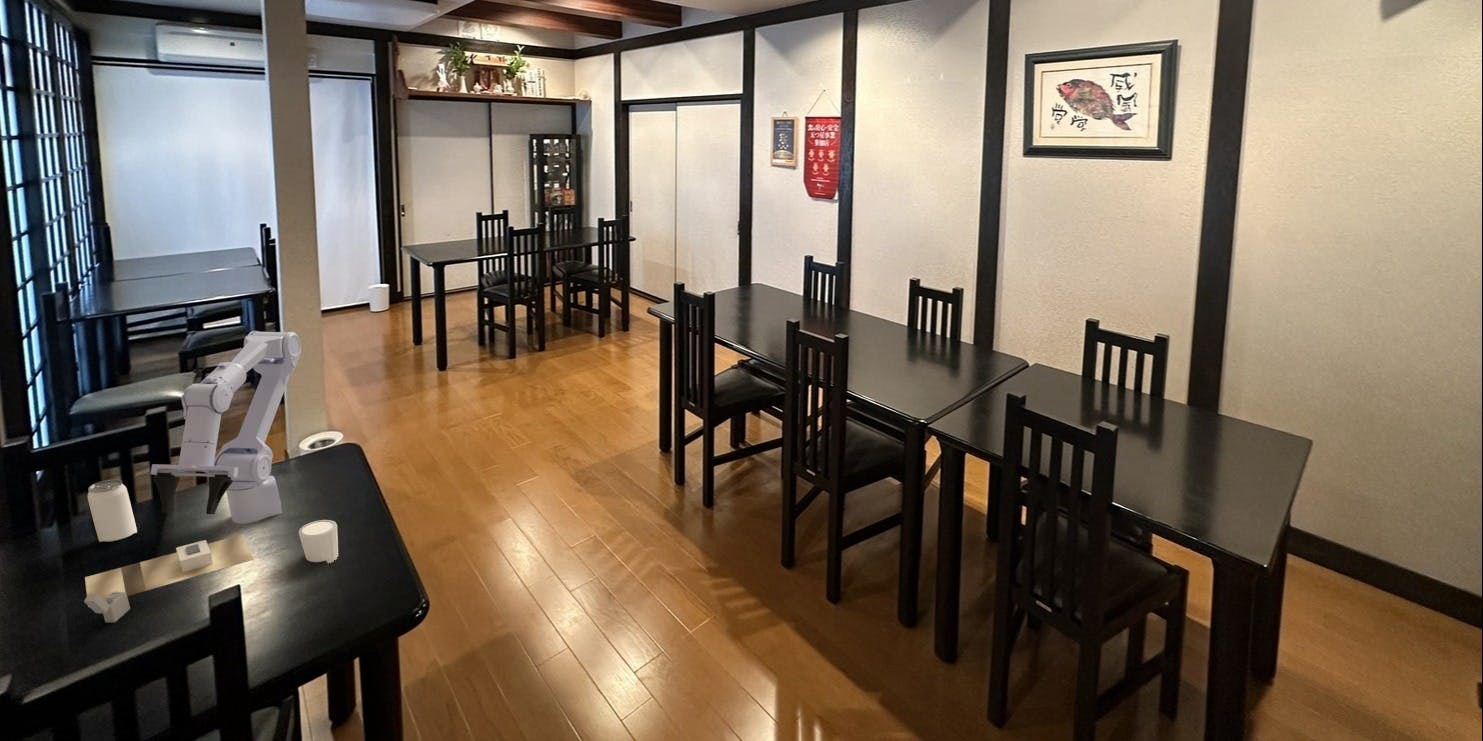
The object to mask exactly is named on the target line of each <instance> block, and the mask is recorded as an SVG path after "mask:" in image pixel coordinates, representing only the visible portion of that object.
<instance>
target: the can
mask: <svg viewBox="0 0 1483 741" xmlns="http://www.w3.org/2000/svg"><path fill="white" fill-rule="evenodd" d="M87 489H88V490H87V491H88V493H87V500H88V504H89V508H90V514H91V517H92V520H93V524H94V528H95V531H96V535H97V539H98V541H99V543H101V542H114V541H118V540H123V539H125V538H128V537H130V536H132V535H133V534H137V533H138V528H137V526H136V525H137V524H136V521H135V516H134V513H133V508H132V504H131V500H130V496H129V492H128V488H127V487H126V485H124V484H123V481H122V480H120V479H107V480H102V481H98V482H95V483H93V484H92V485H90V486H89V487H88V488H87Z"/></svg>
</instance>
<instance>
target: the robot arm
mask: <svg viewBox="0 0 1483 741" xmlns="http://www.w3.org/2000/svg"><path fill="white" fill-rule="evenodd" d="M301 354H302V346H301V339H300V337H299V335H298V334H297V333H296V332H294V331H287V332H285V331H284V332H283V331H281V332H280V331H277V332H276V331H258V330H253V331H250V332H249V333H248V335H247V336H245V337H244V340H243V348H241V350H239V352H238V353H237V355H235V357H234V358H233V359H232V360H231V361H224V362H219V363H218V364H217V366H216V368H214V370H212V371H211V372H210V373H209V374H208V375H207V376H206V377H204V379H203V380H202V381H200V382H199V383H193V384H191V385H190V386H187V387H186V389H185V390H184V392H183V394H181V404H182V407H183V413H182V414H183V415H182V416H183V419H184V420H185V421H184V429H183V434H182V441H181V442H182V443H181V446H180V454H179V458H178V460H179V461H178V464H154V463H153V464H152V465H151V470H150V475H153V482H154V483H155V486H156V488H157V490H158V493H159V496H160V504H161V513H162V514H172V511H173V507H174V501H175V500H174V499H175V494H176V491H177V487H178V485H179V482H180V479H181V477H180V476H186V477H189V476H190V477H208V499H207V503H206V508H205V509H206V511H205V514H206V515H215V514H216V511H217V509H218V506H219V503H220V502H221V500H222V498H223V496H224V495H225V493H226V497H227V502H228V507H229V511H230V517H231V521H232V522H233V523H234V524H239V525H240V524H244V525H245V524H250V523H251V524H252V523H255V522H259V521H262V520H264V519H267V518H269V517H273V516H274V517H275V516H278V515H281V514H283V510H282V502H281V499H280V493H279V489H278V485H277V481H276V479H275V477H274V476H273V475H270V474H271V472H272V471H271V470H272V460H273V457H274V454H273V452H272V451H273V450H272V449H271V448H270V447H269V446H268V445H267V443H266V441H267V437H268V435H269V432H270V429H271V427H272V425H273V422H274V419H275V417H276V413H277V411H278V408H279V405H280V403H281V400H282V397H283V396H284V392H285V390H286V387H287V384H288V382H289V379H290V375H291V374H293V373H294V372H295V369H296V368H297V364H298V361H299V359H300V357H301ZM252 369H253V370H254V371H255V372H257V373H258V374H260V375H261V378H260V379H259V383H258V385H257V388H256V390H255V393H254V395H253V398H252V400H251V402H250V404H249V408H248V410H247V412H246V414H245V418H244V420H243V423H242V424H241V428H240V430H239V433H238V435H237V437H236V438H233V439H232V440H231V439H230V441H227V442H226V443H224V444H223V445H222V447H221V449H220V451H219V453H217V455H216V450H217V444H218V439H219V432H220V427H221V426H220V425H221V418H222V413H224V412H226V411H228V410H229V408H230V405H231V403H232V399H233V397H234V393H235V392H236V391H237V390H239V389H240V387H241V386H242V385H243V384H245V382H246V380H247V373H248V372H249V371H250V370H252ZM194 472H195V473H194ZM196 472H197V473H196ZM199 472H200V473H199ZM201 472H204V473H201Z"/></svg>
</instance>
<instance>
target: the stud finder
mask: <svg viewBox="0 0 1483 741" xmlns="http://www.w3.org/2000/svg"><path fill="white" fill-rule="evenodd" d="M208 544H209V543H208V541H207V540H206V539H205V540H204V539H203V540H199V541H196V542H193V543H188V544H184V545H181V546H177V547H175V550H176V552H177V554H178V559H179V562H180V565H181V568H182V572H186V571H189V570H193V569H196V568H199V567H203V566H206V565H210V564H213V561H212V556H211V552H210V549H209V547H208Z"/></svg>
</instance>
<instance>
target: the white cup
mask: <svg viewBox="0 0 1483 741" xmlns="http://www.w3.org/2000/svg"><path fill="white" fill-rule="evenodd" d="M298 536H299V539H300V542H301V545H302V549H303V552H304V556H305V559H306V560H307V561H309V562H311V563H312V562H313V563H320V562H326V563H327V564H328V565H329V563H330V564H332V563H334V562H335V561H336V560H337V559H338V558H337V557H339V540H338V539H339V538H338V524H337V523H336V521H334V520H330V519H321V520H315V521H311V522H309V523H306V524H304V525H303V526H301V527H300V528H299V530H298ZM334 560H335V561H334Z"/></svg>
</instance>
